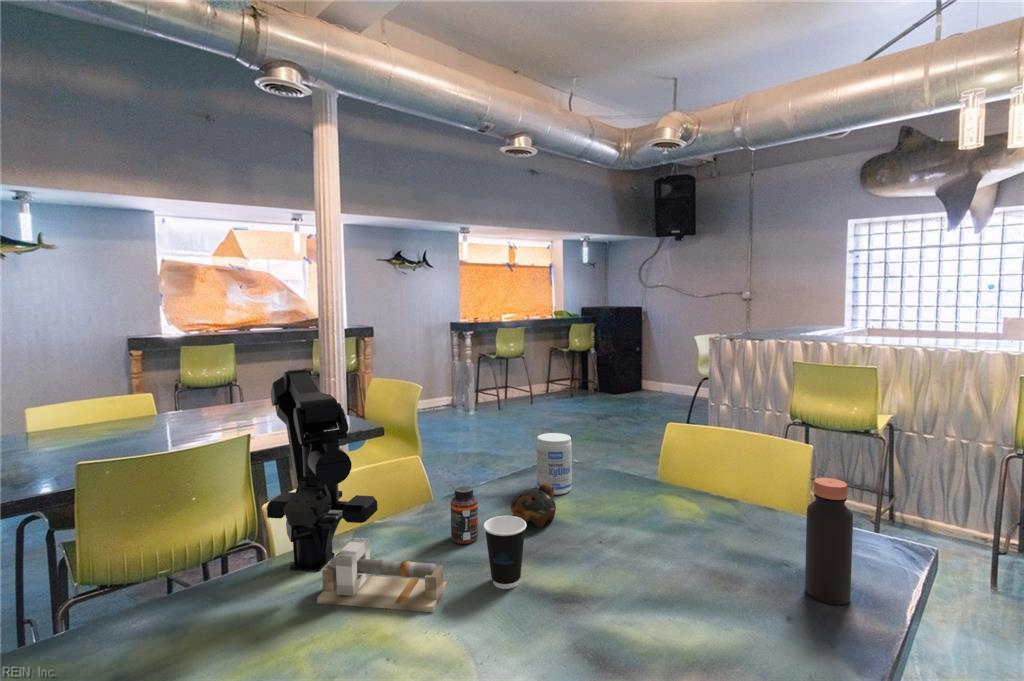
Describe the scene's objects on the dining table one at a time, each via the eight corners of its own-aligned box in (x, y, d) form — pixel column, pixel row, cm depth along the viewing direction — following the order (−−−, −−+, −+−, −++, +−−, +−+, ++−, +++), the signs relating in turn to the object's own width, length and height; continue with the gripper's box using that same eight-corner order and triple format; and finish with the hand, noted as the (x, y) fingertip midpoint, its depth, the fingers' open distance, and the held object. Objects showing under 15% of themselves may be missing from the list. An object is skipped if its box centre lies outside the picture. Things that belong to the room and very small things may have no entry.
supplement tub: (552, 498, 136) (551, 443, 135) (529, 488, 144) (529, 436, 143) (579, 490, 142) (578, 437, 141) (556, 480, 149) (556, 430, 148)
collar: (337, 594, 91) (335, 555, 90) (355, 573, 97) (354, 537, 97) (353, 595, 90) (351, 556, 90) (370, 574, 97) (369, 538, 96)
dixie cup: (515, 567, 102) (514, 512, 101) (535, 586, 95) (534, 528, 94) (478, 577, 98) (476, 520, 97) (495, 598, 91) (494, 537, 90)
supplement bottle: (474, 546, 111) (473, 494, 110) (447, 544, 112) (446, 492, 111) (481, 533, 116) (480, 484, 116) (456, 532, 118) (454, 483, 117)
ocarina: (566, 514, 126) (567, 483, 125) (535, 544, 113) (535, 509, 112) (532, 505, 131) (531, 475, 130) (498, 532, 118) (498, 499, 117)
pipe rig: (317, 602, 91) (315, 568, 90) (339, 578, 99) (338, 546, 98) (433, 612, 87) (432, 576, 87) (446, 586, 95) (445, 553, 95)
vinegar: (835, 610, 86) (838, 492, 84) (796, 590, 92) (798, 479, 90) (859, 599, 89) (863, 484, 87) (820, 580, 95) (822, 473, 93)
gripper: (243, 482, 87) (248, 572, 88) (348, 486, 84) (352, 580, 85) (283, 461, 98) (287, 541, 99) (377, 464, 95) (380, 547, 96)
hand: (324, 552), depth 94 cm, fingers closed
